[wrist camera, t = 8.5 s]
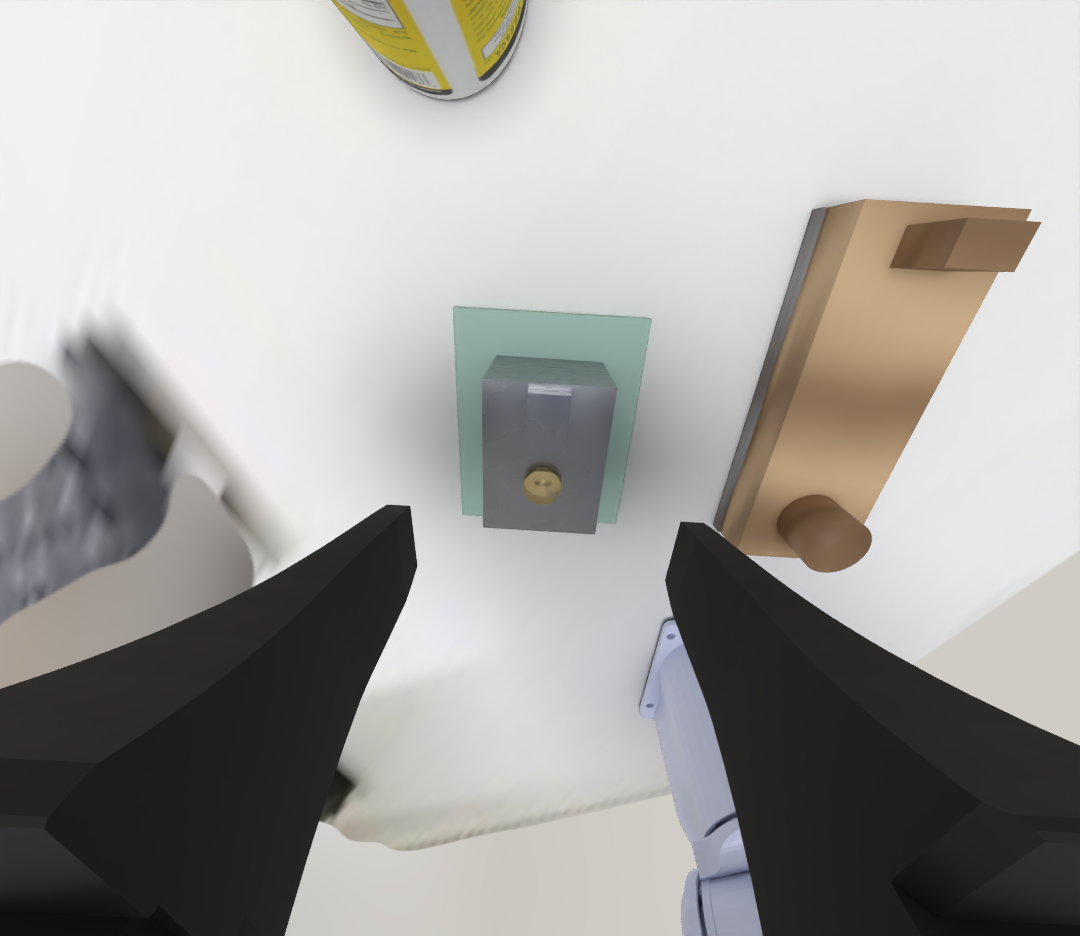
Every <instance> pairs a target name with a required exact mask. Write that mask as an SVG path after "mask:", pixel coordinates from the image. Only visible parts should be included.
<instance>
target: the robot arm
mask: <svg viewBox="0 0 1080 936" xmlns="http://www.w3.org/2000/svg"><path fill="white" fill-rule="evenodd" d="M416 569H417V559H416V551H415V542H414V534H413V526H412V517H411V509H410V506H401V505H386V506H384V507H383V508H381V509H379V510H378V511H376V512H375V513H373V514H372V515H370V516H368V517H367V518H365V519H364V520H363V521H361V522H360V523H358V524H357V525H355V526H354V527H352V528H351V529H349V530H348V531H346V532H345V533H343V534H341V535H340V536H338V537H337V538H335V539H334V540H332V541H331V542H329V543H328V544H326V545H325V546H323V547H322V548H320V549H318V550H317V551H315V552H313V553H312V554H310V555H308V556H307V557H305V558H303V559H302V560H300V561H298V562H297V563H295V564H293V565H292V566H290V567H289V568H287V569H285V570H284V571H282V572H280V573H278V574H277V575H275V576H273V577H271V578H269V579H268V580H266V581H264V582H262V583H260V584H258V585H256V586H254V587H252V588H250V589H249V590H247V591H245V592H243V593H241V594H239V595H237V596H235V597H233V598H231V599H229V600H227V601H225V602H223V603H221V604H218V605H216V606H214V607H212V608H210V609H207V610H205V611H203V612H201V613H198V614H196V615H194V616H192V617H189V618H187V619H185V620H183V621H181V622H178V623H176V624H174V625H171V626H169V627H167V628H165V629H162V630H160V631H158V632H156V633H153V634H151V635H148V636H145V637H143V638H140V639H138V640H135V641H133V642H130V643H128V644H126V645H123V646H120V647H118V648H115V649H112V650H110V651H108V652H105V653H102V654H99V655H97V656H94V657H91V658H89V659H86V660H83V661H81V662H78V663H75V664H73V665H69V666H67V667H64V668H61V669H58V670H56V671H53V672H50V673H47V674H44V675H41V676H38V677H35V678H32V679H29V680H26V681H23V682H20V683H17V684H14V685H11V686H8V687H5V688H2V689H0V936H284V935H285V932H286V928H287V925H288V921H289V918H290V915H291V911H292V907H293V904H294V901H295V897H296V894H297V890H298V887H299V884H300V880H301V877H302V874H303V870H304V867H305V864H306V860H307V857H308V854H309V850H310V848H311V844H312V841H313V838H314V835H315V832H316V828H317V825H318V822H319V819H320V816H321V813H322V810H323V807H324V803H325V800H326V797H327V794H328V791H329V788H330V785H331V782H332V779H333V776H334V774H335V771H336V768H337V765H338V762H339V759H340V756H341V753H342V750H343V747H344V744H345V741H346V739H347V736H348V733H349V730H350V728H351V725H352V722H353V719H354V717H355V714H356V711H357V708H358V705H359V703H360V700H361V698H362V695H363V693H364V691H365V688H366V686H367V684H368V681H369V679H370V677H371V675H372V673H373V671H374V668H375V666H376V664H377V662H378V660H379V658H380V656H381V654H382V652H383V649H384V647H385V645H386V643H387V641H388V639H389V637H390V635H391V632H392V630H393V628H394V626H395V624H396V622H397V620H398V617H399V615H400V613H401V611H402V609H403V607H404V604H405V602H406V600H407V597H408V594H409V591H410V588H411V585H412V582H413V578H414V575H415V572H416ZM665 582H666V587H667V591H668V596H669V600H670V604H671V608H672V612H673V616H674V619H675V621H673V620H672V621H667V622H666V623H665V624H664V625H663V628H662V631H661V635H660V638H659V642H658V645H657V649H656V652H655V656H654V659H653V663H652V666H651V670H650V673H649V677H648V680H647V684H646V687H645V691H644V694H643V698H642V701H641V705H640V708H639V711H640V715H641V716H642V717H644V718H654V719H655V723H656V728H657V732H658V736H659V740H660V745H661V749H662V753H663V757H664V762H665V766H666V770H667V774H668V779H669V783H670V787H671V792H672V796H673V800H674V804H675V809H676V812H677V816H678V819H679V821H680V824H681V826H682V828H683V831H684V832H685V834H686V836H687V838H688V839H689V841H690V842H691V844H692V848H693V852H694V856H695V860H696V864H697V869H693V870H692V871H691V872H689V873H688V875H687V878H686V881H685V888H684V893H683V897H682V904H681V923H682V934H683V936H1080V746H1079V745H1077V744H1075V743H1073V742H1070V741H1068V740H1066V739H1063V738H1061V737H1059V736H1057V735H1054V734H1052V733H1050V732H1047V731H1045V730H1043V729H1040V728H1038V727H1036V726H1034V725H1031V724H1030V723H1027V722H1025V721H1023V720H1021V719H1019V718H1017V717H1015V716H1013V715H1011V714H1009V713H1007V712H1004V711H1002V710H1000V709H998V708H996V707H994V706H992V705H990V704H988V703H986V702H984V701H982V700H980V699H978V698H975V697H973V696H971V695H969V694H967V693H965V692H963V691H961V690H959V689H957V688H955V687H954V686H952V685H950V684H948V683H946V682H943V681H942V680H940V679H938V678H936V677H934V676H932V675H930V674H928V673H927V672H925V671H923V670H921V669H919V668H918V667H916V666H914V665H912V664H910V663H908V662H907V661H905V660H903V659H901V658H899V657H897V656H896V655H894V654H892V653H890V652H888V651H887V650H885V649H883V648H881V647H880V646H878V645H876V644H875V643H873V642H871V641H869V640H868V639H866V638H864V637H863V636H861V635H860V634H858V633H856V632H855V631H853V630H852V629H850V628H848V627H847V626H845V625H843V624H842V623H840V622H839V621H837V620H835V619H834V618H832V617H831V616H829V615H828V614H826V613H825V612H823V611H822V610H820V609H819V608H817V607H816V606H814V605H813V604H811V603H810V602H808V601H807V600H806V599H804V598H803V597H801V596H800V595H798V594H797V593H796V592H794V591H793V590H791V589H790V588H788V587H787V586H786V585H784V584H783V583H782V582H780V581H779V580H778V579H776V578H775V577H774V576H772V575H771V574H770V573H768V572H767V571H766V570H764V569H763V568H762V567H760V566H759V565H758V564H757V563H755V562H754V561H753V560H751V559H750V558H749V557H748V556H746V555H745V554H744V553H743V552H741V551H740V550H739V549H737V548H736V547H735V546H734V545H732V544H731V543H730V542H729V541H727V540H726V539H725V538H723V537H722V536H721V535H720V534H718V533H717V532H716V531H714V530H713V529H712V528H710V527H709V526H707V525H706V524H704V523H694V522H680V526H679V530H678V534H677V538H676V541H675V545H674V549H673V553H672V556H671V560H670V564H669V568H668V571H667V575H666V579H665Z"/></svg>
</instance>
